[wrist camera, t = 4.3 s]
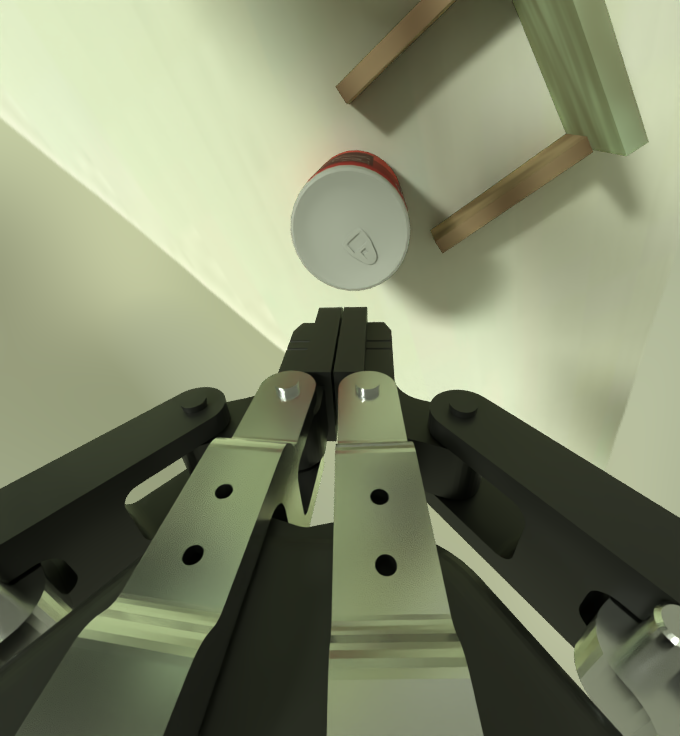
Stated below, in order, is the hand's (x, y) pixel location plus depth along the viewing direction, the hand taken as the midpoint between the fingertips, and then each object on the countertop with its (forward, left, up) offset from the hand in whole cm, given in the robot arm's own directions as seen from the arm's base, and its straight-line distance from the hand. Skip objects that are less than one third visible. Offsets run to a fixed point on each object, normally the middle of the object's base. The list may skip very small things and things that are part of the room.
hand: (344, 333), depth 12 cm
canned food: (-1, -1, -25) cm, 25 cm away
